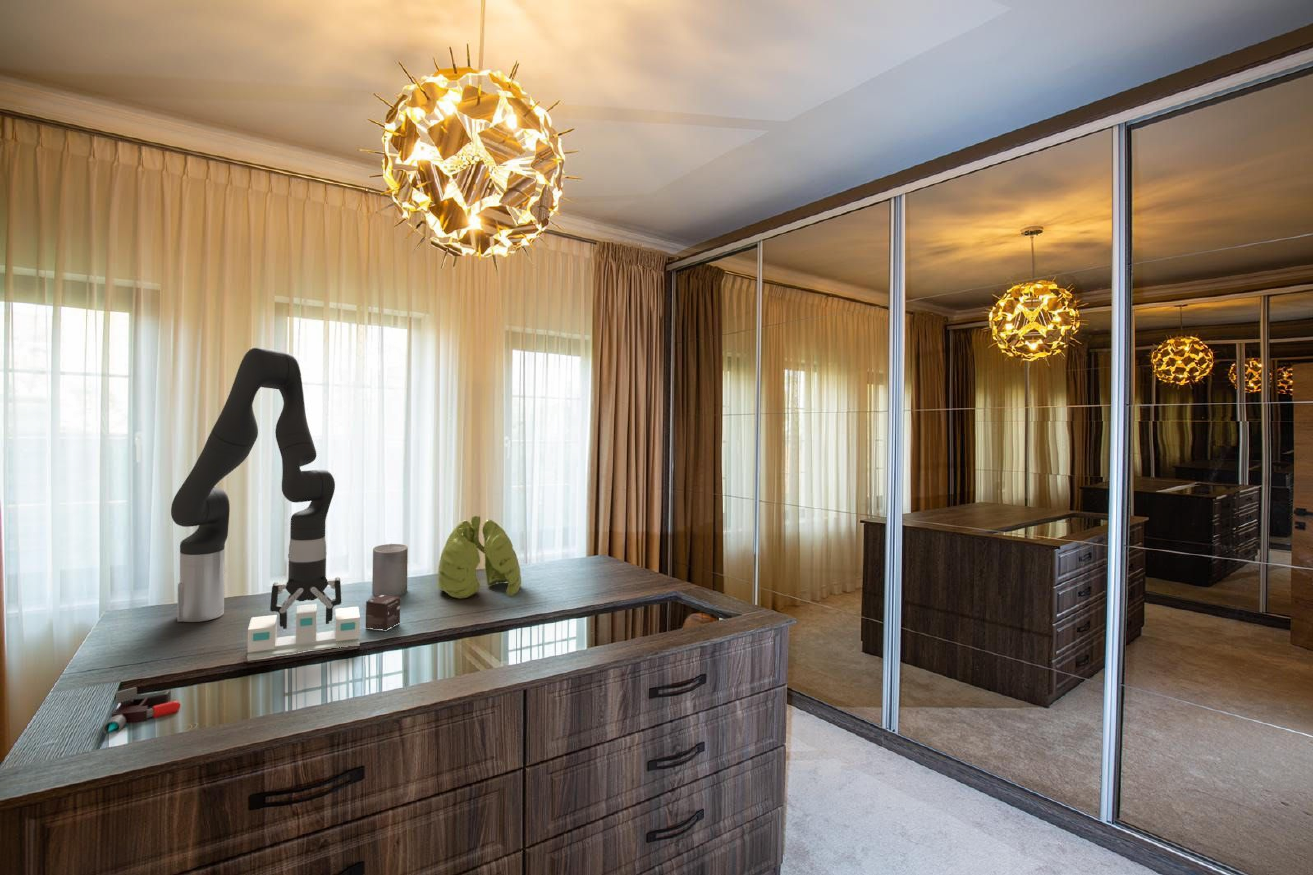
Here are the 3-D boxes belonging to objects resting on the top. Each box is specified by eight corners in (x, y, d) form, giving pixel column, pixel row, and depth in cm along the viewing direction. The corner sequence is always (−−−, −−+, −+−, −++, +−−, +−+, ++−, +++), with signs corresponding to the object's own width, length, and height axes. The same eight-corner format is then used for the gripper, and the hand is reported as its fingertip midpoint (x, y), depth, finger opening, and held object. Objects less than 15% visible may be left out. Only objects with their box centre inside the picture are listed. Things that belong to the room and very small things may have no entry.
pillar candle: (385, 586, 190) (386, 538, 189) (413, 589, 188) (414, 541, 187) (364, 596, 181) (365, 545, 179) (394, 599, 179) (394, 549, 178)
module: (295, 644, 139) (296, 614, 138) (296, 634, 144) (297, 605, 144) (316, 642, 141) (316, 612, 140) (316, 632, 146) (316, 603, 146)
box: (385, 632, 154) (386, 604, 154) (364, 629, 155) (365, 601, 155) (400, 624, 160) (401, 596, 160) (379, 621, 161) (380, 594, 161)
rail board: (246, 664, 133) (247, 631, 133) (251, 646, 142) (252, 616, 141) (359, 649, 143) (360, 618, 143) (357, 634, 152) (358, 605, 152)
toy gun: (95, 740, 103) (96, 712, 103) (127, 705, 115) (127, 680, 114) (166, 732, 107) (166, 705, 107) (189, 699, 118) (190, 674, 118)
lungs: (437, 602, 178) (440, 520, 177) (436, 586, 193) (439, 510, 191) (524, 596, 187) (527, 518, 186) (517, 581, 202) (520, 509, 200)
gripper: (341, 550, 148) (340, 616, 149) (272, 554, 141) (271, 623, 142) (342, 558, 141) (341, 627, 142) (269, 563, 135) (268, 635, 136)
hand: (306, 625), depth 142 cm, fingers open, 8 cm apart
